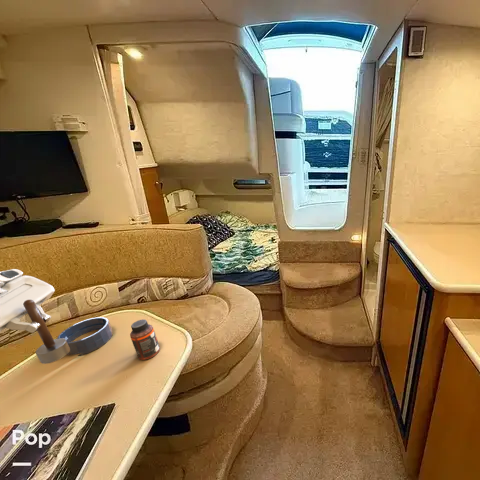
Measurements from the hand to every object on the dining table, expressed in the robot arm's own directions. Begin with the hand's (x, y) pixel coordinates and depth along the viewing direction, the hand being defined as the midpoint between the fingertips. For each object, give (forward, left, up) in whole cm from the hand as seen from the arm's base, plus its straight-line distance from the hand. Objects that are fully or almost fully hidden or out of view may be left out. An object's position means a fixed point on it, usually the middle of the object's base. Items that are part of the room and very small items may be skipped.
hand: (42, 324), depth 65 cm
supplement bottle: (+7, +16, -21) cm, 28 cm away
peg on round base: (-1, 0, -9) cm, 9 cm away
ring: (-18, +13, -21) cm, 30 cm away
